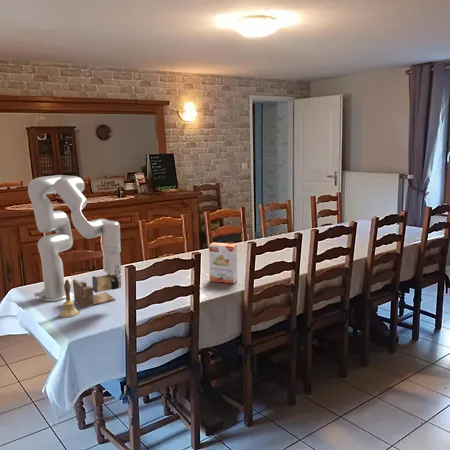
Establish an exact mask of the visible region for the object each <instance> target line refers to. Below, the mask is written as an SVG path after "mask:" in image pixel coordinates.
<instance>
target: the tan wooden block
mask: <svg viewBox="0 0 450 450" xmlns="http://www.w3.org/2000/svg"><path fill="white" fill-rule="evenodd" d="M91 277H92V280H91V282H92V287H93V293H96V294H98V293H103V292H106V291H113V290H112V287H111V281H112V276H111V275H107V274H105V275H100V276H94V275H93V276H91ZM114 277H115V276H114ZM121 288H122V275H121V274H120V278H119V288H118V289H121Z"/></svg>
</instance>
